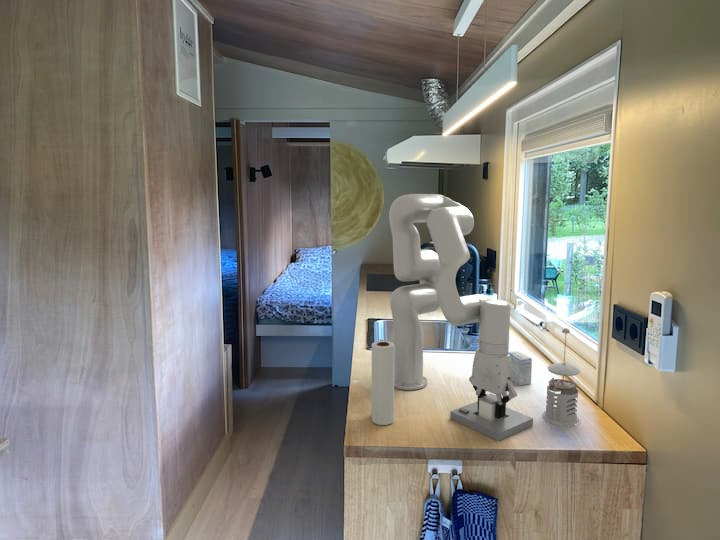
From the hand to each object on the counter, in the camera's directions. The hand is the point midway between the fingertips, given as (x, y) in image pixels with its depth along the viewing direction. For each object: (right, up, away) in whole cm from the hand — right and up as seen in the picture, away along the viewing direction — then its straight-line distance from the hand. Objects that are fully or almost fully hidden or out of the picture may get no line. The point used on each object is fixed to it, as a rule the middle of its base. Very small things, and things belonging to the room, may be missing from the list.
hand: (491, 412), depth 134 cm
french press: (+19, -2, +2) cm, 19 cm away
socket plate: (0, -2, 0) cm, 3 cm away
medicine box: (+16, +2, +30) cm, 34 cm away
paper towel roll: (-28, -3, +2) cm, 29 cm away
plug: (0, -2, 0) cm, 2 cm away
